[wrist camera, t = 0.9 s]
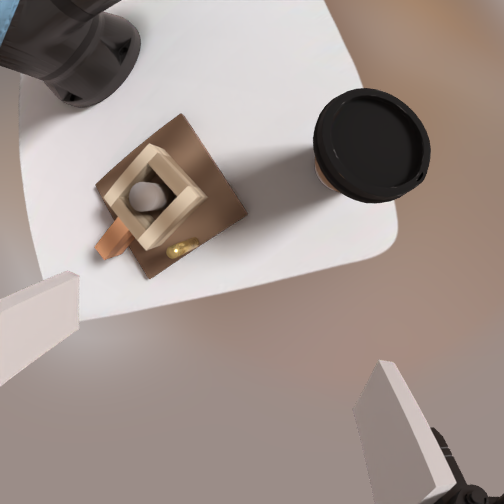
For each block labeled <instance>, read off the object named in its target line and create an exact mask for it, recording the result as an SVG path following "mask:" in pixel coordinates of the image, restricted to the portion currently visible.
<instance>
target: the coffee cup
mask: <svg viewBox="0 0 504 504" xmlns="http://www.w3.org/2000/svg"><path fill="white" fill-rule="evenodd" d="M313 148H314V153H315V171H316V174H317V176H318V178H319V180H320V181H321V182H322V183H323V184H324V185H325V186H326V187H328V188H329V189H331V190H334V191H337V192H340V193H342V194H344V195H345V196H347V197H349V198H352V199H354V200H356V201H360V202H364V203H382V202H389V201H392V200H395V199H397V198H400V197H401V196H403V195H404V194H406V193H407V192H409V191H411V190H412V189H414V188H415V187H417V186H418V185H419V184H420V183H422V182H423V180H424V178H425V176H426V174H427V170H428V167H429V162H430V153H431V148H430V141H429V137H428V135H427V132H426V130H425V128H424V126H423V124H422V122H421V121H420V119H419V118H418V117H417V115H416V114H415V113H414V112H413V111H412V110H411V109H410V108H409V107H408V106H407V105H406V104H404V103H403V102H402V101H400V100H399V99H398V98H396V97H394V96H392V95H390V94H388V93H386V92H383V91H380V90H376V89H369V88H361V89H354V90H351V91H347V92H345V93H344V94H341V95H339V96H338V97H336V98H334V99H332V100H331V101H330V102H329V103H328V104H327V105H326V106H325V107H324V109H323V110H322V112H321V113H320V115H319V117H318V120H317V123H316V126H315V130H314V136H313Z"/></svg>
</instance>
